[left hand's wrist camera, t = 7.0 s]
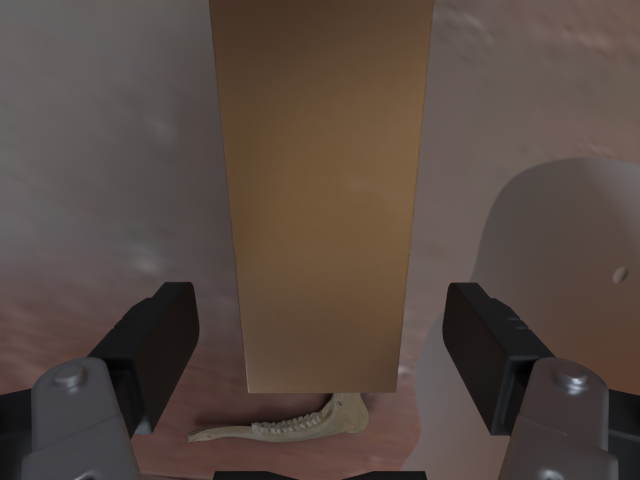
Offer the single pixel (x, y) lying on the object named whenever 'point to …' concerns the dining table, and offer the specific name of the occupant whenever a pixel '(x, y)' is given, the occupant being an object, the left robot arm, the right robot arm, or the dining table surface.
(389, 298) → the bar
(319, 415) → the jawbone
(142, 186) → the dining table surface
